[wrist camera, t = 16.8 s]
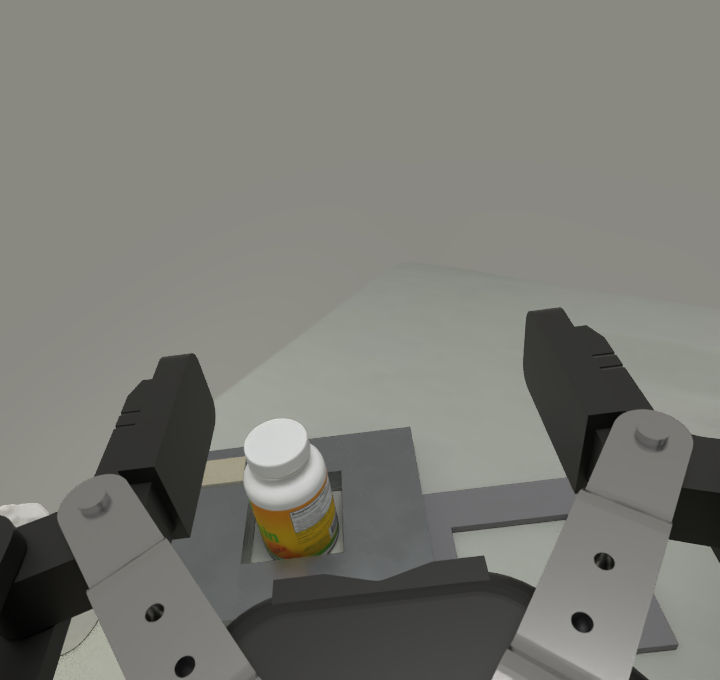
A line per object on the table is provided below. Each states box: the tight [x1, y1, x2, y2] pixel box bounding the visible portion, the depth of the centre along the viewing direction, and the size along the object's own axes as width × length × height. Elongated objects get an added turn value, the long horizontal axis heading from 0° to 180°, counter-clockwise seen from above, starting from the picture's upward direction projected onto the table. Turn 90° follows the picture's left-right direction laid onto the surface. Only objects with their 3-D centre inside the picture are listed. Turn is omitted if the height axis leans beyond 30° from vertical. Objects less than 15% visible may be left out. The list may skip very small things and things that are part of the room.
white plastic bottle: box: [0, 503, 98, 656], centre depth 34 cm, size 6×12×6 cm
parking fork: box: [422, 478, 678, 654], centre depth 36 cm, size 12×14×1 cm
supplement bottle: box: [243, 419, 339, 560], centre depth 37 cm, size 5×5×10 cm
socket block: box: [171, 427, 433, 627], centre depth 40 cm, size 18×14×2 cm
